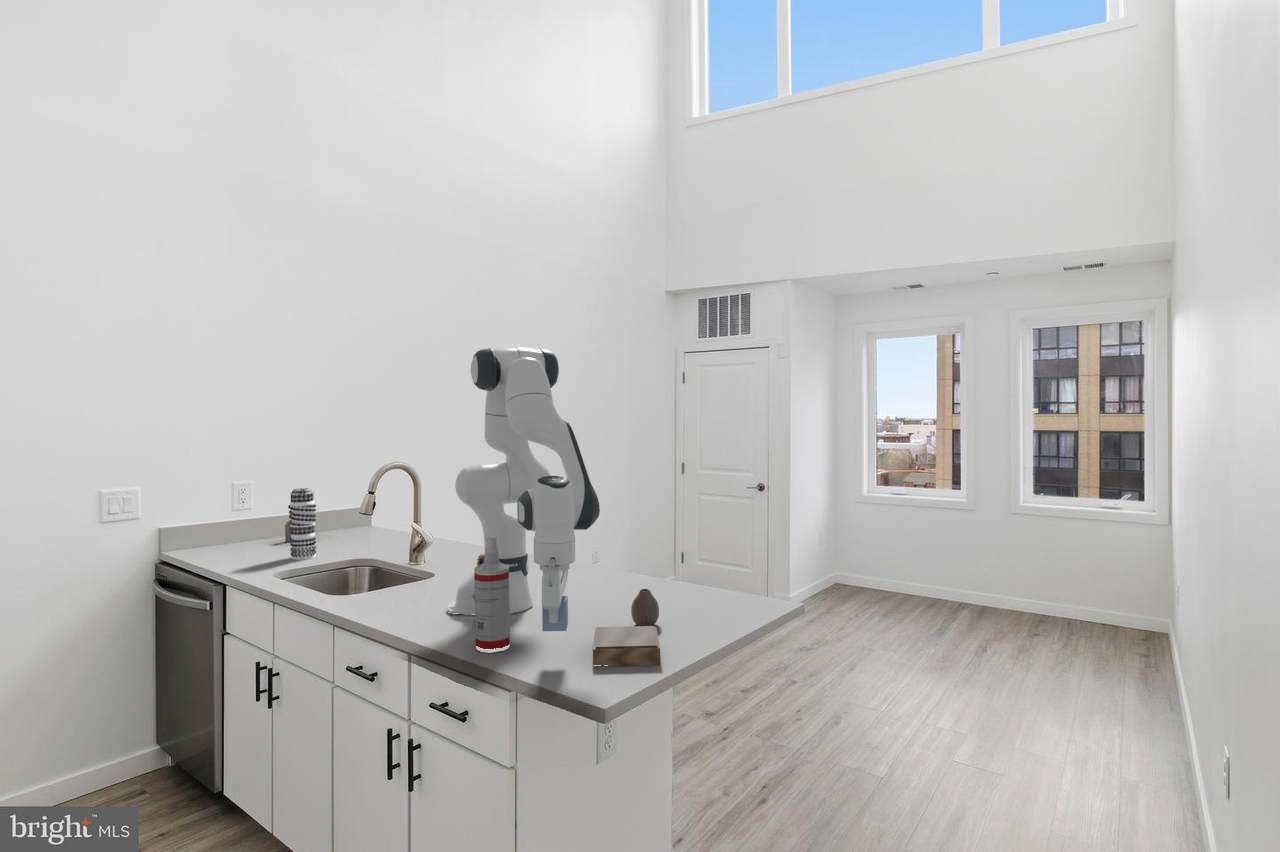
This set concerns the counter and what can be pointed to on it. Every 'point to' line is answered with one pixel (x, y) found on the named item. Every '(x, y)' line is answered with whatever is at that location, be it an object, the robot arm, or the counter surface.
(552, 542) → the robot arm
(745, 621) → the counter surface
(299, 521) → the decorative candle
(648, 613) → the vase
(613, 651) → the walnut plinth
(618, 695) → the counter surface
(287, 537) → the architectural model on board
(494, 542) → the nozzle bottle
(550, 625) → the slate block
